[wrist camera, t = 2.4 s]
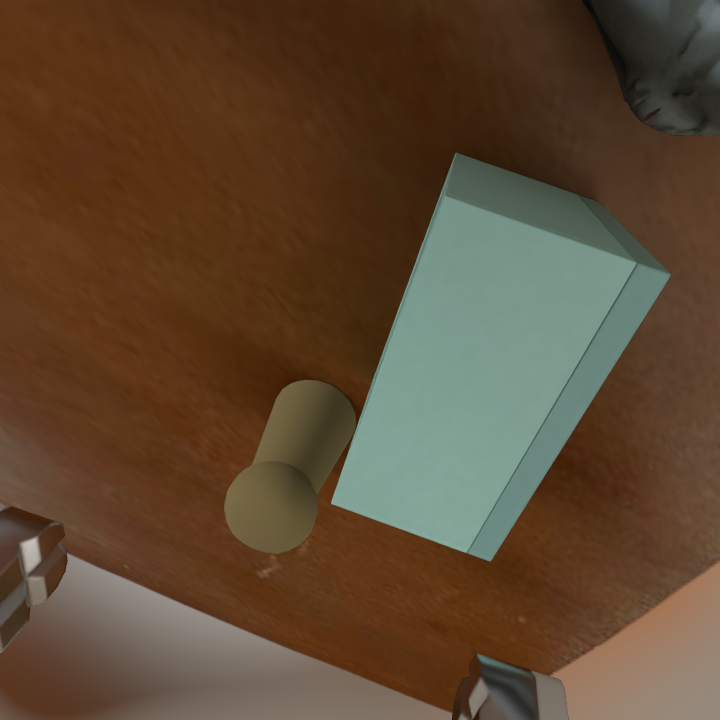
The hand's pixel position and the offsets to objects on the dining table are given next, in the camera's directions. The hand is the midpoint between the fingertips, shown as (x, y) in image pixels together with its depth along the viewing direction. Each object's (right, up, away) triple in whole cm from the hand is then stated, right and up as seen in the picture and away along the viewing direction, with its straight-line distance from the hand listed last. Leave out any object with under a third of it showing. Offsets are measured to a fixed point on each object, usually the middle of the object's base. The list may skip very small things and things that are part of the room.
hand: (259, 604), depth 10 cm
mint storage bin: (+9, +8, +22) cm, 25 cm away
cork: (-1, +1, +28) cm, 28 cm away
